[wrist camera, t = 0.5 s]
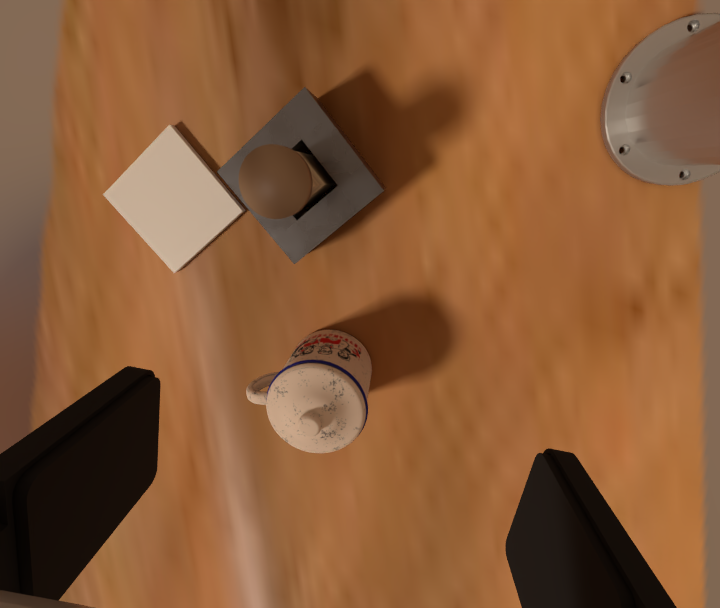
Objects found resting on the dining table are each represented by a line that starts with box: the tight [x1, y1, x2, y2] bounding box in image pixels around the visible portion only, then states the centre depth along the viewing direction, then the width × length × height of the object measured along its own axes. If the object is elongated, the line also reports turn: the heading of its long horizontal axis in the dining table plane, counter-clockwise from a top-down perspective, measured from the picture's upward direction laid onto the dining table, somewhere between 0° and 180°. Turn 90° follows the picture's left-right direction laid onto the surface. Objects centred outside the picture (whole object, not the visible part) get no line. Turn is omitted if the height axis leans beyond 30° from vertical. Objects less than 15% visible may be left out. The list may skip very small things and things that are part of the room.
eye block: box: [217, 87, 386, 264], centre depth 37 cm, size 10×10×5 cm
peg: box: [239, 144, 335, 219], centre depth 34 cm, size 5×5×12 cm
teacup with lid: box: [246, 330, 372, 453], centre depth 40 cm, size 12×9×12 cm
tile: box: [103, 125, 246, 273], centre depth 41 cm, size 10×10×1 cm
